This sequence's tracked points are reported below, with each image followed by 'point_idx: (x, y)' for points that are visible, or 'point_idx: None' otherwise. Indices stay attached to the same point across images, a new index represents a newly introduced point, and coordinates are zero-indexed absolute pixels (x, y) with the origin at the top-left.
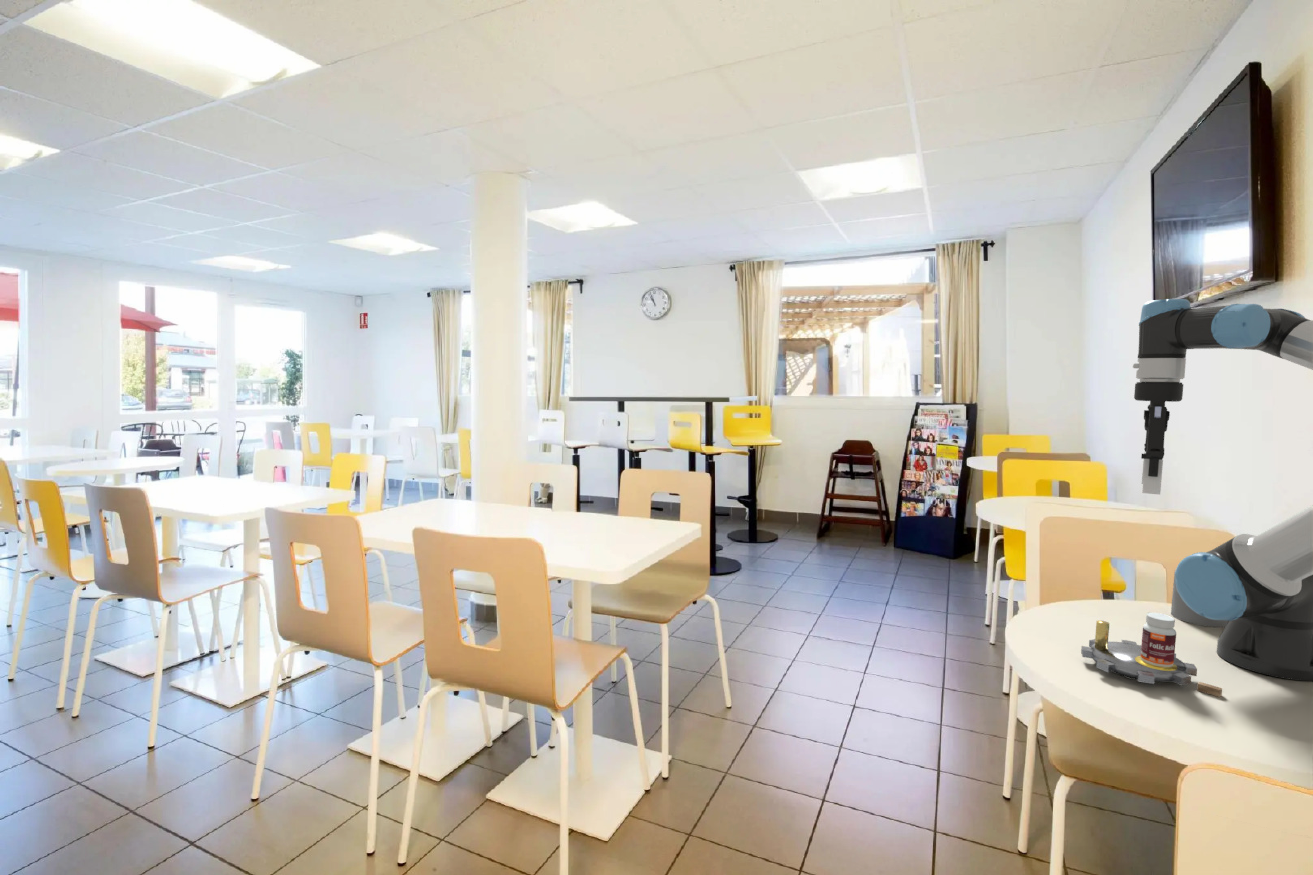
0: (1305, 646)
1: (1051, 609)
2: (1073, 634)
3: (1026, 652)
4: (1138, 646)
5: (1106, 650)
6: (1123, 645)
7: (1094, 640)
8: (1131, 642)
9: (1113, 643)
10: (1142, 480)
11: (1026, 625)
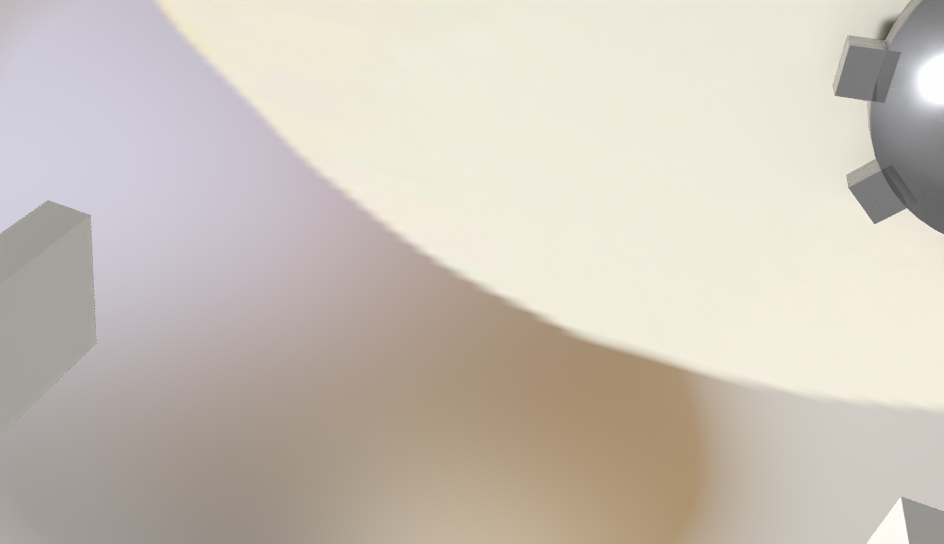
0: None
1: (372, 188)
2: (656, 190)
3: (913, 392)
4: (912, 51)
5: None
6: (913, 111)
7: (875, 206)
8: (861, 65)
9: (895, 144)
10: (67, 364)
11: (611, 320)
